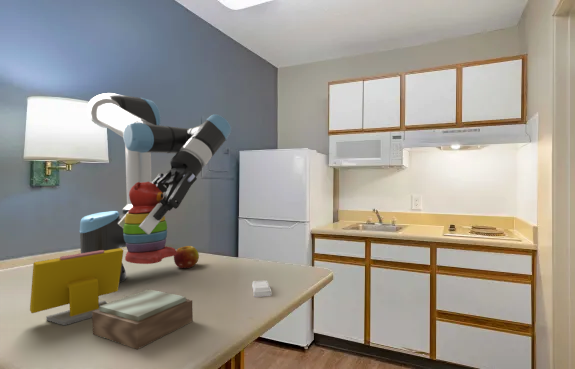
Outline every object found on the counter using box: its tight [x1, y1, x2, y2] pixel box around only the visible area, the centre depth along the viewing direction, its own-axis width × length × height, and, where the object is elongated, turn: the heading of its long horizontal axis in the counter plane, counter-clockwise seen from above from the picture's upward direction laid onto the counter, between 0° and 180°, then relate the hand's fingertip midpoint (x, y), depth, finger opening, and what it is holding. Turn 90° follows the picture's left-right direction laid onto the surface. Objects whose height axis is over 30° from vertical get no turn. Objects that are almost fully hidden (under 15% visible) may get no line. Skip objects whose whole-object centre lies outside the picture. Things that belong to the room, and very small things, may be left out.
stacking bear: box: [123, 182, 177, 265], centre depth 78 cm, size 11×10×18 cm
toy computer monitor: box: [29, 247, 124, 326], centre depth 86 cm, size 20×8×16 cm, turn 141°
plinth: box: [91, 288, 194, 350], centre depth 77 cm, size 15×15×6 cm
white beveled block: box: [251, 279, 272, 298], centre depth 101 cm, size 5×9×3 cm, turn 9°
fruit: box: [173, 245, 200, 269], centre depth 133 cm, size 10×9×8 cm
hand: (132, 228), depth 76 cm, fingers closed on stacking bear, 9 cm apart
